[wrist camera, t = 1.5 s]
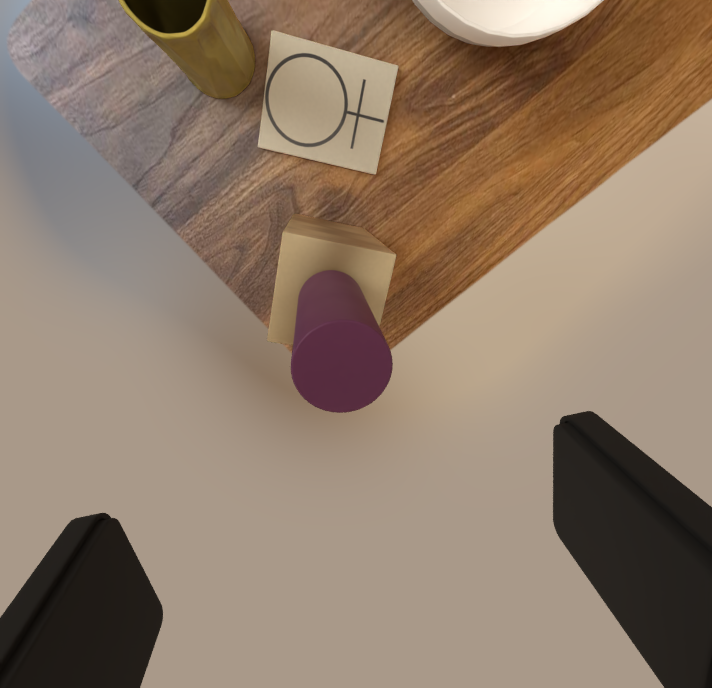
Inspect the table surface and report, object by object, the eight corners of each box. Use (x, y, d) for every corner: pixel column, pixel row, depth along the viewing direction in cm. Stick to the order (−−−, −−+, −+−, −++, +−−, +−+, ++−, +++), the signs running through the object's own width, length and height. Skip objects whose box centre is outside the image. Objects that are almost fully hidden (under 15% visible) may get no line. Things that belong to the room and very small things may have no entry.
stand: (283, 283, 42) (266, 341, 27) (293, 213, 40) (282, 231, 24) (349, 295, 44) (372, 358, 28) (363, 227, 41) (396, 254, 25)
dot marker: (293, 323, 26) (283, 406, 16) (304, 261, 25) (299, 311, 15) (354, 333, 27) (380, 419, 17) (368, 273, 26) (403, 329, 16)
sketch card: (258, 147, 38) (257, 147, 37) (272, 32, 35) (271, 29, 34) (375, 174, 40) (375, 174, 39) (397, 67, 37) (398, 65, 36)
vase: (239, 113, 37) (198, 72, 23) (170, 74, 35) (84, 7, 22) (266, 40, 35) (239, -48, 22) (195, -3, 33) (119, -128, 20)
